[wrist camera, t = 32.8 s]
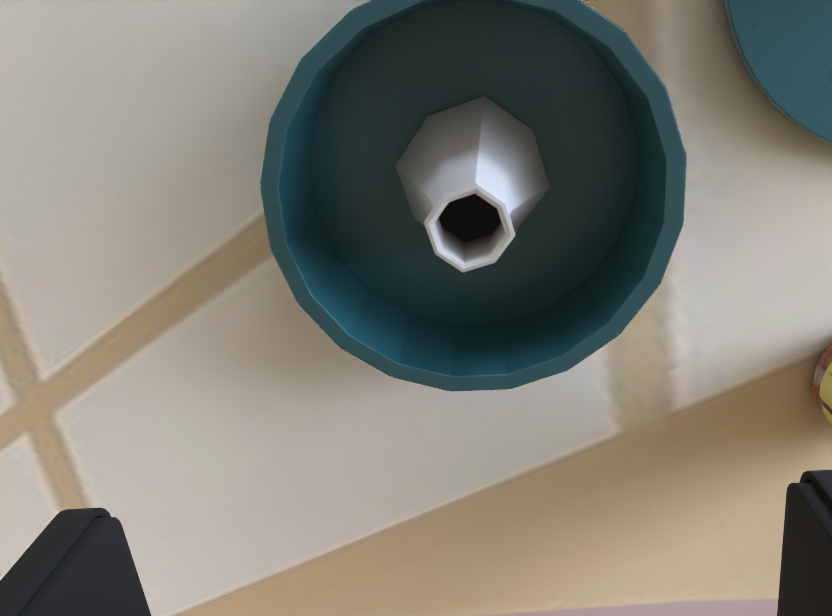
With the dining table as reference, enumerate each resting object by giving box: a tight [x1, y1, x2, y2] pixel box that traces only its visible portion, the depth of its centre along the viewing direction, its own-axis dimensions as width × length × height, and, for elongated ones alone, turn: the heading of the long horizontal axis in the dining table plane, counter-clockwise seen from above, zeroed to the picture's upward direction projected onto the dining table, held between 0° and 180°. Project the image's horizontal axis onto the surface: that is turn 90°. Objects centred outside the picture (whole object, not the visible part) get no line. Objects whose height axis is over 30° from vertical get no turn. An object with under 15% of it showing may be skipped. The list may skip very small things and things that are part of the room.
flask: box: [395, 96, 550, 272], centre depth 31 cm, size 7×7×10 cm
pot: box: [260, 0, 687, 391], centre depth 33 cm, size 18×18×6 cm
